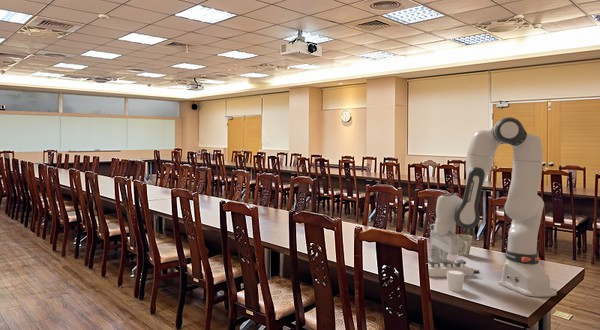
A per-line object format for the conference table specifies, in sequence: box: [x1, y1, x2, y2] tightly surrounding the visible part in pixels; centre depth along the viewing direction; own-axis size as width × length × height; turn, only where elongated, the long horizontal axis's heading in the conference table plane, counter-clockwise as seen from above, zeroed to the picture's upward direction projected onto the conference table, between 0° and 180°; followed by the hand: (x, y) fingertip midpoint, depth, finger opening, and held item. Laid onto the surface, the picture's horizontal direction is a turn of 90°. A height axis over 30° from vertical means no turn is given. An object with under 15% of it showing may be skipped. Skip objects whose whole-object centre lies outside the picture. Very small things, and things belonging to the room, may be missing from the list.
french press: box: [428, 243, 449, 263], centre depth 221 cm, size 10×12×25 cm
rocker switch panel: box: [427, 263, 480, 278], centre depth 200 cm, size 8×27×5 cm, turn 99°
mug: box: [456, 233, 473, 257], centre depth 232 cm, size 8×13×10 cm, turn 174°
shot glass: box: [446, 270, 465, 293], centre depth 178 cm, size 7×7×7 cm
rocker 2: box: [452, 259, 467, 266], centre depth 200 cm, size 3×5×1 cm
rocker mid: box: [440, 260, 453, 266], centre depth 199 cm, size 3×5×1 cm
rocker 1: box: [427, 259, 440, 266], centre depth 198 cm, size 3×5×1 cm
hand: (443, 259), depth 199 cm, fingers closed
